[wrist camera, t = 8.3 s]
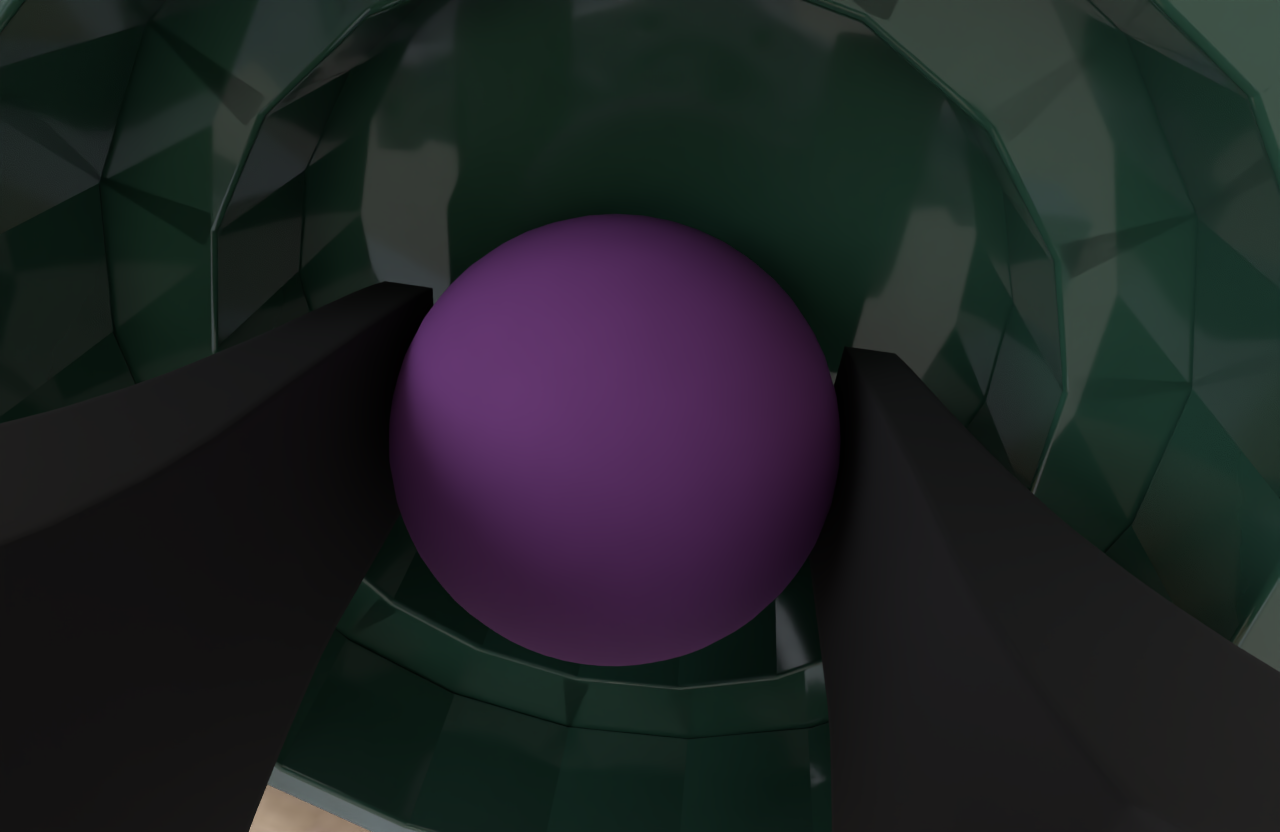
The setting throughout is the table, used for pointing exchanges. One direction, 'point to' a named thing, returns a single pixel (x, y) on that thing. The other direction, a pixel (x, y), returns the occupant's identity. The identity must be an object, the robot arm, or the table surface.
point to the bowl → (728, 210)
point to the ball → (614, 440)
